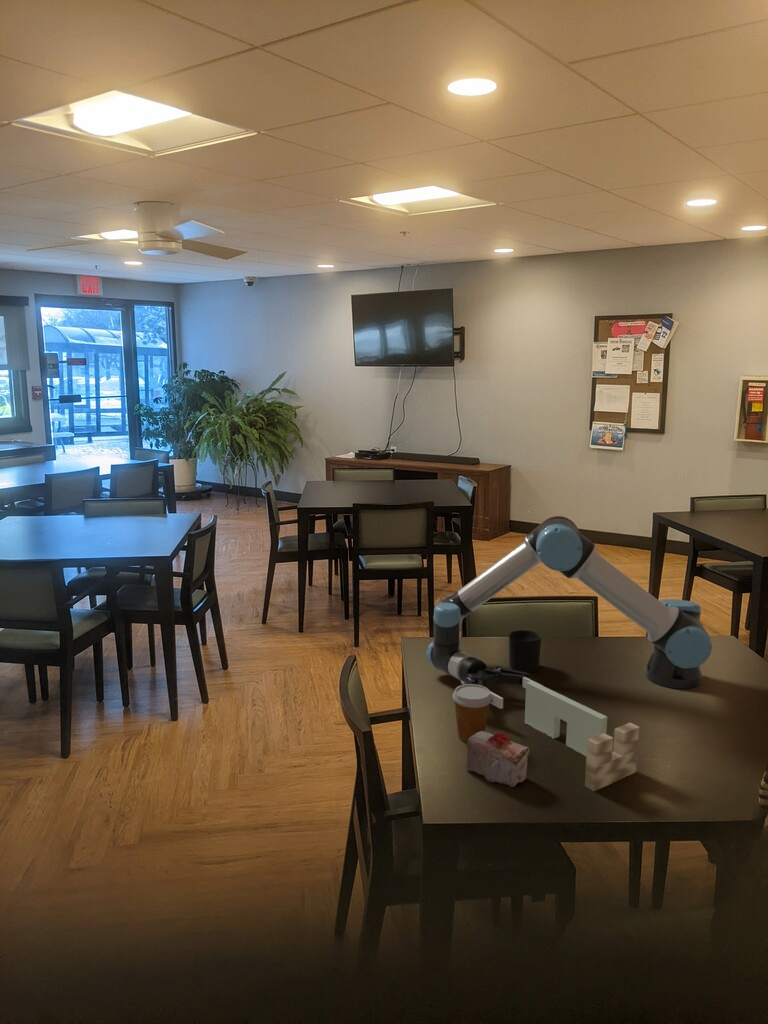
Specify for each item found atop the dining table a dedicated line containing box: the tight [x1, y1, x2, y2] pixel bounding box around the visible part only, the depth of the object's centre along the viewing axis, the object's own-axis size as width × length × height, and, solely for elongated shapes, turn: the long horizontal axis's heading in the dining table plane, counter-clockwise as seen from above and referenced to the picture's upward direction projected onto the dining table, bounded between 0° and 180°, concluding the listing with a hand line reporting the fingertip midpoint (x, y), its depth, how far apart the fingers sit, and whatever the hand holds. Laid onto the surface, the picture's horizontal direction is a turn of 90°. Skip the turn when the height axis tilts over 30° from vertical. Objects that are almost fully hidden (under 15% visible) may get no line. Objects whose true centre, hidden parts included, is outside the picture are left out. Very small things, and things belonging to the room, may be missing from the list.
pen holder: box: [508, 629, 542, 674], centre depth 231 cm, size 9×9×10 cm
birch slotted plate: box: [584, 722, 640, 792], centre depth 170 cm, size 14×2×11 cm, turn 124°
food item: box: [466, 730, 530, 788], centre depth 172 cm, size 14×8×10 cm, turn 52°
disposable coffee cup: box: [452, 684, 492, 743], centre depth 189 cm, size 10×10×12 cm
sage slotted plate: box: [524, 680, 608, 757], centre depth 187 cm, size 24×2×11 cm, turn 34°
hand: (522, 697), depth 198 cm, fingers open, 13 cm apart
